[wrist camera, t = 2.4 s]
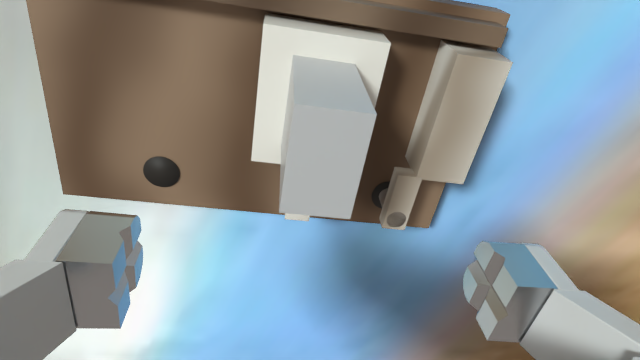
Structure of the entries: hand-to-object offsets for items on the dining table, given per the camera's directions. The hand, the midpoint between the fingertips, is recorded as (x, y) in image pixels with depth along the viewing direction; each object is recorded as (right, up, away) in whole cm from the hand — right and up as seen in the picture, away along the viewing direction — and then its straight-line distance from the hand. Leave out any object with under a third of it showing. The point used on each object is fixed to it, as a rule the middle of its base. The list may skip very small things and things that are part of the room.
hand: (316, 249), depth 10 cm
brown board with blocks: (-3, +6, +11) cm, 13 cm away
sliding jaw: (0, +5, +10) cm, 11 cm away
